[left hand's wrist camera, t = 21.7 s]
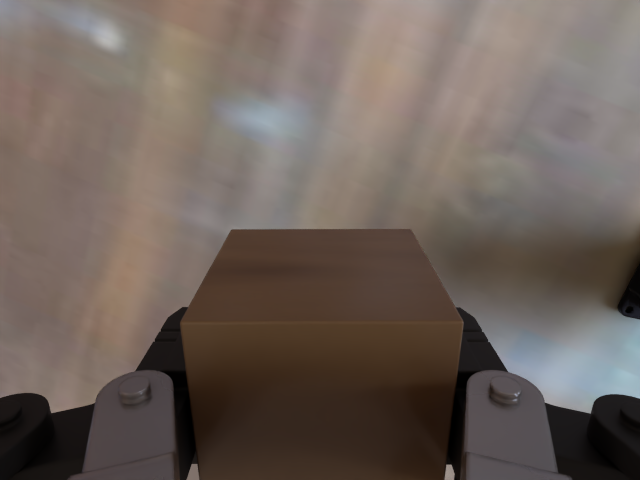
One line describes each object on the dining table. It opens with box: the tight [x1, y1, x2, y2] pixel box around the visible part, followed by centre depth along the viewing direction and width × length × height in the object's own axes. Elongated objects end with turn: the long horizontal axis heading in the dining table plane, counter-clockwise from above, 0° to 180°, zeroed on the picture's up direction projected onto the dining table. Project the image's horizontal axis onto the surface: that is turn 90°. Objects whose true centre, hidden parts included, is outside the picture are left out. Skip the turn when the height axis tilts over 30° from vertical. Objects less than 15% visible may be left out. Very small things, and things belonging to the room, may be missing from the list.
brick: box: [180, 229, 464, 480], centre depth 10 cm, size 5×5×5 cm
